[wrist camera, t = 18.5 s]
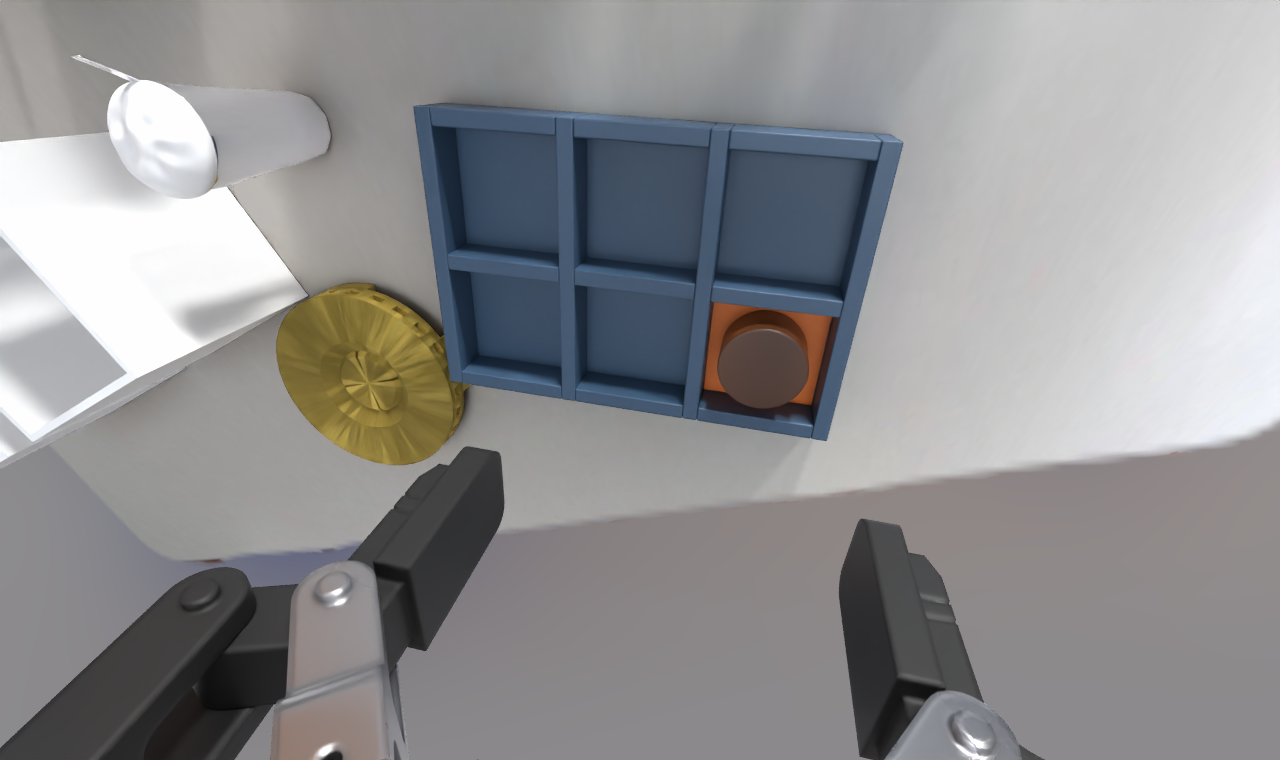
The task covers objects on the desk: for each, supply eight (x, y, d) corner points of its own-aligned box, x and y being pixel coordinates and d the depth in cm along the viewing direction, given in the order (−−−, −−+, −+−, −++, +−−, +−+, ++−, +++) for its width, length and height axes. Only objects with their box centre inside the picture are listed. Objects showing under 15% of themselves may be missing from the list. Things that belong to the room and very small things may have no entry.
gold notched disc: (285, 381, 39) (260, 397, 38) (326, 244, 33) (299, 254, 31) (432, 474, 41) (415, 494, 39) (498, 358, 35) (482, 374, 33)
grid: (472, 360, 35) (449, 381, 33) (444, 102, 28) (412, 105, 26) (823, 413, 32) (826, 441, 29) (892, 134, 25) (903, 141, 22)
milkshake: (323, 57, 28) (124, 52, 20) (353, 170, 31) (188, 209, 22) (247, 61, 29) (26, 58, 21) (282, 170, 32) (98, 208, 23)
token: (717, 379, 31) (712, 402, 29) (727, 304, 29) (722, 323, 27) (798, 391, 30) (799, 415, 28) (815, 315, 28) (817, 335, 26)
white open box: (110, 412, 45) (-66, 502, 36) (-5, 292, 42) (-235, 357, 32) (308, 296, 35) (137, 377, 26) (180, 125, 32) (-72, 148, 22)
